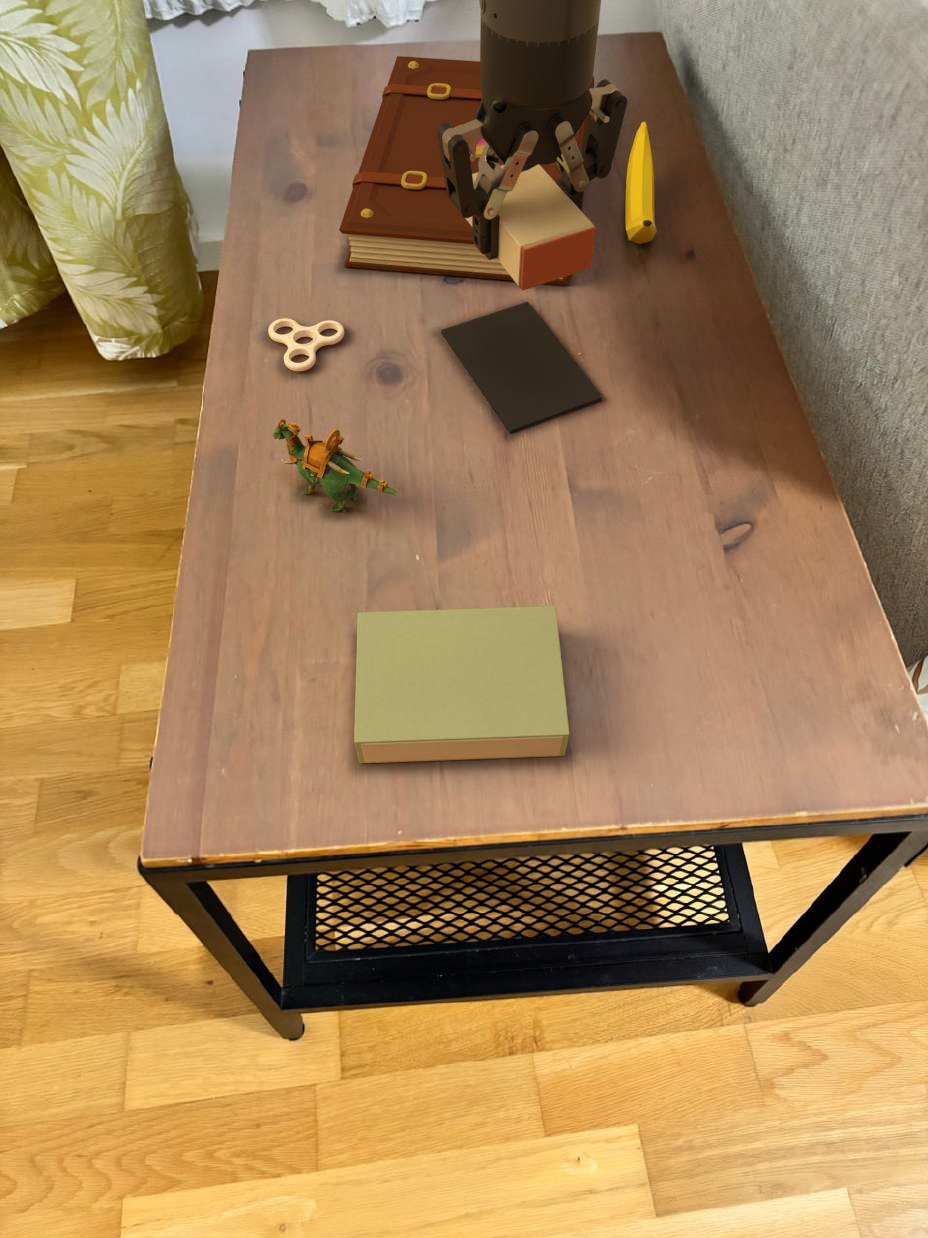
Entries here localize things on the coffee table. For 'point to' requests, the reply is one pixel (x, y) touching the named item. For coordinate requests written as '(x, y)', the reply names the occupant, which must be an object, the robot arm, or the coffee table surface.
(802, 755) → the coffee table surface
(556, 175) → the book
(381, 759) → the bottom book
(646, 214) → the banana
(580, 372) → the felt pad
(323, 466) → the figurine
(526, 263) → the top book
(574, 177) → the robot arm
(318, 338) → the fidget spinner
